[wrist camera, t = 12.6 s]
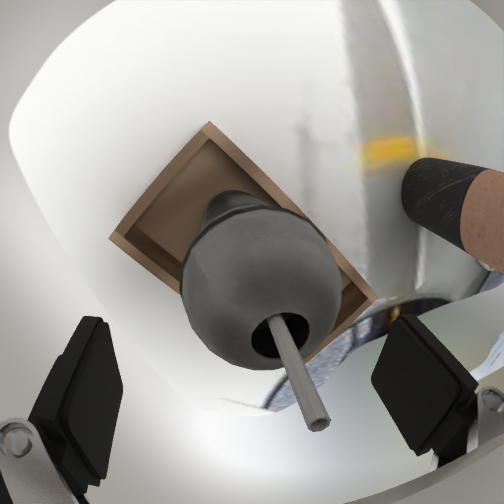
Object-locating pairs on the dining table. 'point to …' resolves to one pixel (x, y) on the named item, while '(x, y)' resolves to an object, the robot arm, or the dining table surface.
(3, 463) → the robot arm
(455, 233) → the travel mug
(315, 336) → the beverage cup
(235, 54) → the dining table surface
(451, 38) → the dining table surface
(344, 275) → the tray
